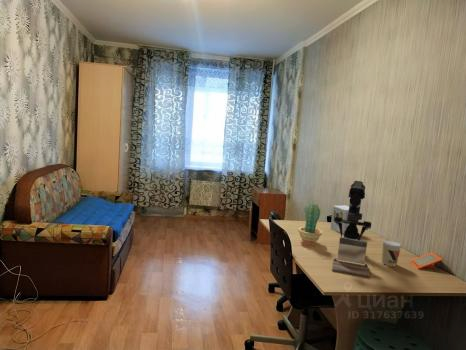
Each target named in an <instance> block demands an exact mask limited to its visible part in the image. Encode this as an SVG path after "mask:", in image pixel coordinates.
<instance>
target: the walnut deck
mask: <svg viewBox="0 0 466 350" xmlns="http://www.w3.org/2000/svg"><path fill="white" fill-rule="evenodd" d="M331 271H332V272H334V273H341V274H345V275H352V276H356V277H362V278H366V279H367V278H368V279H369V278H370V272H369V266H368V263H364V264H360V263H354V262H349V261H343V260H338V259H337V258H336V257H335V258H333V261H332V268H331Z"/></svg>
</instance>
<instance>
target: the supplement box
mask: <svg viewBox="0 0 466 350" xmlns="http://www.w3.org/2000/svg"><path fill="white" fill-rule="evenodd" d="M348 211H349V205H346V204H345V205H333V206H332V212H331V221H330V230H333V231H335V232H337V233H340V228H339V225H337V224H336V223H334V219H335V217H342V219H344V220H347V217H348ZM348 225H349V224H347V223H342V235H344V233H345V231H346V228H347V227H348ZM356 226H357V227H358V225H356Z"/></svg>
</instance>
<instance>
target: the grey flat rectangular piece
mask: <svg viewBox="0 0 466 350" xmlns="http://www.w3.org/2000/svg"><path fill="white" fill-rule="evenodd" d="M367 246H368V241H366V240H363V239H362V240H361V239H360V240H355V239H349V238H346V237H345V238H344V236H342V237H341V236H340V237H339V242H338V249H337V250H338V251H337V258H336V260H338V261H344V262H349V263H355V264H361V265H365V264H366V263H365V262H366V256H367V255H366V254H367Z"/></svg>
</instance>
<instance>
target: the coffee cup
mask: <svg viewBox="0 0 466 350" xmlns="http://www.w3.org/2000/svg"><path fill="white" fill-rule="evenodd" d="M401 248H402V245H401V244H400V243H399V242H395V241H392V240H384V241H383V242H382V249H381V250H382V253H381V264H383V263H384V264H386V265H385V266H387V265H391V266H390V267H392V266H394V265H396V266H397V265H398V260H399V257H400V252H401V251H400V250H401ZM384 264H383V265H384ZM394 267H395V266H394Z"/></svg>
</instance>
